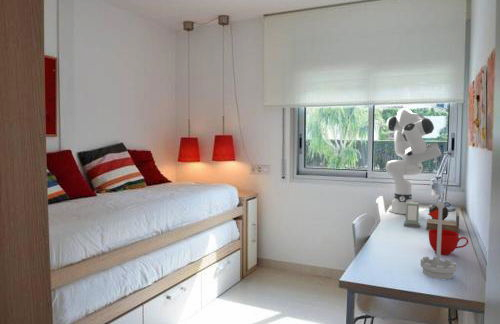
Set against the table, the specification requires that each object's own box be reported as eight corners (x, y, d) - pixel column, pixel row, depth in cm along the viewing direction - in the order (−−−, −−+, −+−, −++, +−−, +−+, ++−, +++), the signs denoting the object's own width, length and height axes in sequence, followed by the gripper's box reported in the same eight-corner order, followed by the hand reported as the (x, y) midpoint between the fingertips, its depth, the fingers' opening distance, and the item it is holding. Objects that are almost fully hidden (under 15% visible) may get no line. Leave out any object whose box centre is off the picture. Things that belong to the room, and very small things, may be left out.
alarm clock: (445, 221, 250) (446, 197, 248) (449, 222, 244) (450, 198, 243) (428, 220, 251) (429, 196, 250) (431, 222, 245) (432, 198, 244)
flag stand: (444, 268, 159) (447, 198, 157) (462, 280, 146) (466, 204, 144) (414, 268, 158) (416, 198, 156) (430, 280, 145) (433, 204, 143)
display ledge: (427, 224, 239) (427, 209, 238) (457, 227, 231) (458, 211, 230) (426, 229, 226) (427, 213, 226) (458, 232, 219) (459, 216, 218)
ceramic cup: (467, 260, 170) (468, 238, 169) (426, 254, 178) (427, 233, 178) (467, 252, 181) (468, 232, 181) (428, 247, 190) (429, 228, 189)
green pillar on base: (404, 223, 242) (405, 201, 241) (420, 224, 238) (420, 202, 237) (403, 226, 234) (404, 203, 233) (419, 228, 230) (420, 204, 229)
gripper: (436, 139, 230) (444, 158, 233) (403, 151, 241) (411, 168, 244) (436, 143, 225) (445, 163, 228) (402, 155, 236) (411, 173, 239)
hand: (427, 166), depth 236 cm, fingers open, 8 cm apart
